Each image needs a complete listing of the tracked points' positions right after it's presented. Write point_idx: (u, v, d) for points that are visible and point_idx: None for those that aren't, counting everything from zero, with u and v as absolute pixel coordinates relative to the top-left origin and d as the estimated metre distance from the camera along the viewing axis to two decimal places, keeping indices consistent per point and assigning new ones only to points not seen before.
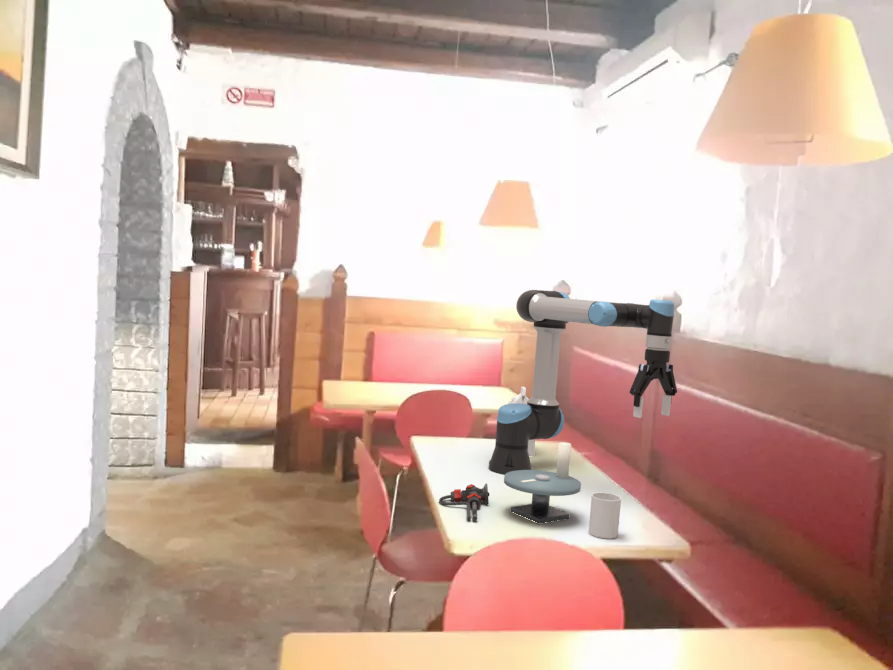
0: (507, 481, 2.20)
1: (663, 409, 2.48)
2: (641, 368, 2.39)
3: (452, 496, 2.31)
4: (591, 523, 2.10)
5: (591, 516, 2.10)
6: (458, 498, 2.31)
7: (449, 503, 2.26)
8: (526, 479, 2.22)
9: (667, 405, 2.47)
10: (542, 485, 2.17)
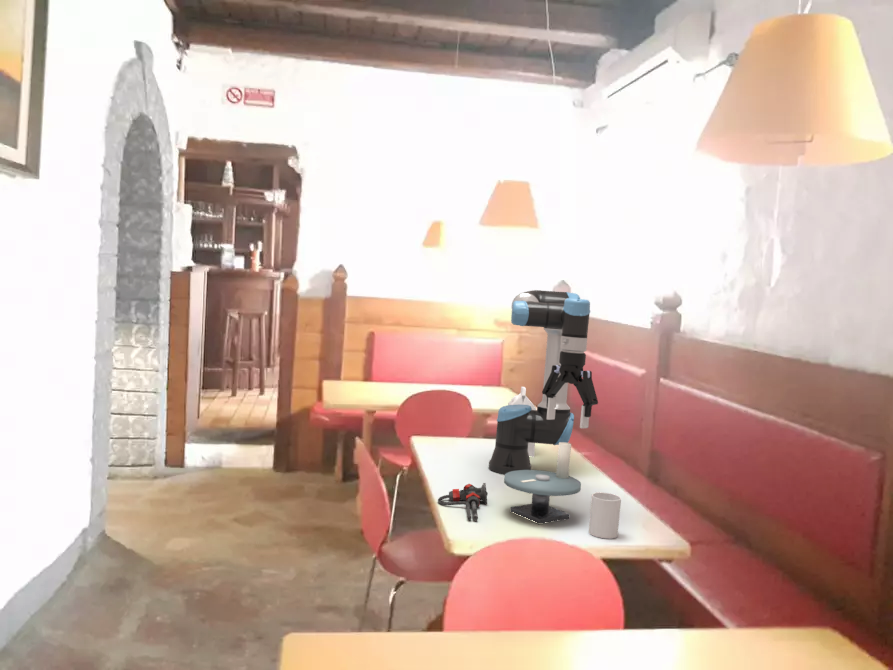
0: (507, 481, 2.20)
1: None
2: None
3: (451, 496, 2.31)
4: (591, 523, 2.10)
5: (591, 516, 2.10)
6: (457, 498, 2.31)
7: (448, 503, 2.26)
8: (526, 479, 2.22)
9: None
10: (542, 485, 2.17)
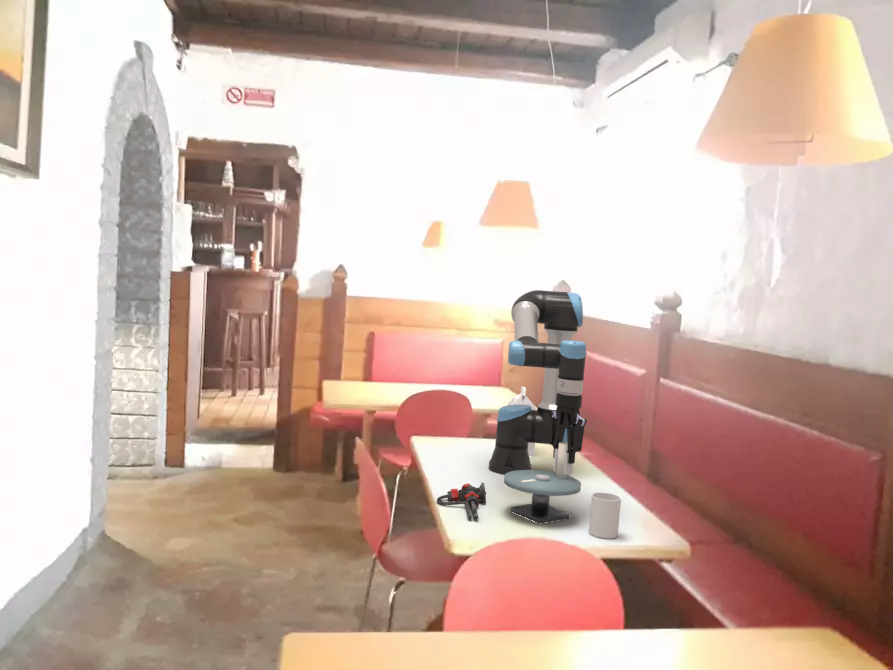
0: (507, 481, 2.20)
1: None
2: None
3: (449, 496, 2.32)
4: (591, 523, 2.10)
5: (591, 516, 2.10)
6: (455, 497, 2.31)
7: (447, 503, 2.26)
8: (526, 479, 2.22)
9: None
10: (542, 485, 2.17)
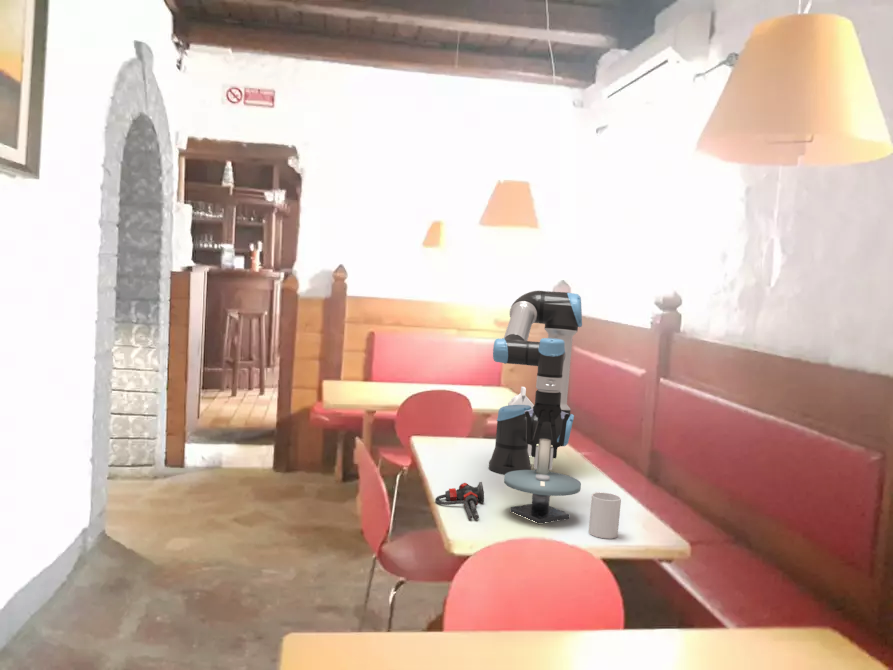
0: (530, 489, 2.14)
1: (549, 462, 2.32)
2: (525, 415, 2.30)
3: (447, 495, 2.32)
4: (591, 523, 2.10)
5: (591, 516, 2.10)
6: (454, 497, 2.31)
7: (446, 502, 2.26)
8: (536, 482, 2.19)
9: None
10: (560, 485, 2.18)
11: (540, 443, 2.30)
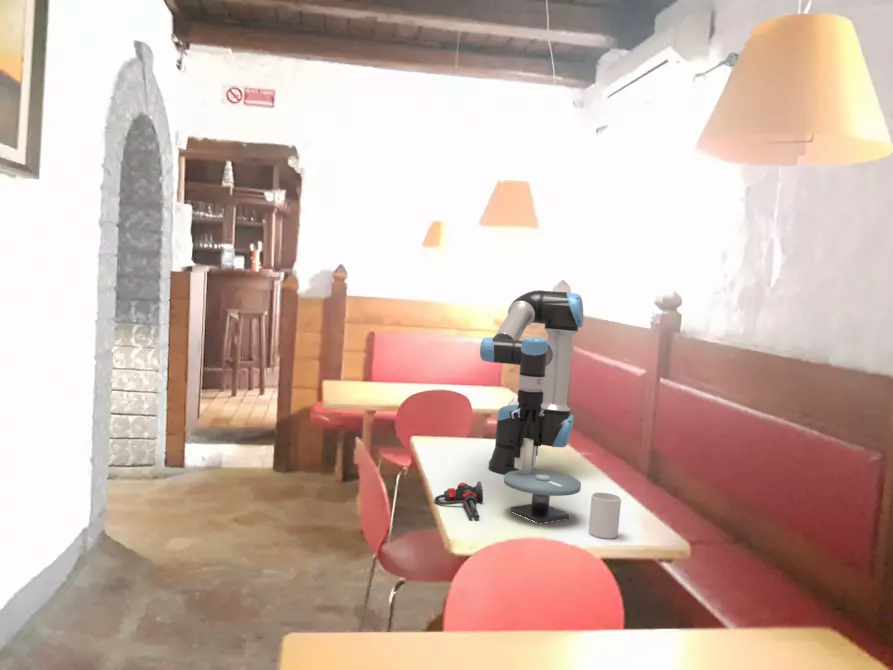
0: (558, 491, 2.13)
1: None
2: (512, 416, 2.25)
3: (446, 495, 2.32)
4: (591, 523, 2.10)
5: (591, 516, 2.10)
6: (453, 497, 2.31)
7: (446, 502, 2.26)
8: (548, 484, 2.19)
9: (532, 456, 2.30)
10: (566, 482, 2.22)
11: (526, 443, 2.28)
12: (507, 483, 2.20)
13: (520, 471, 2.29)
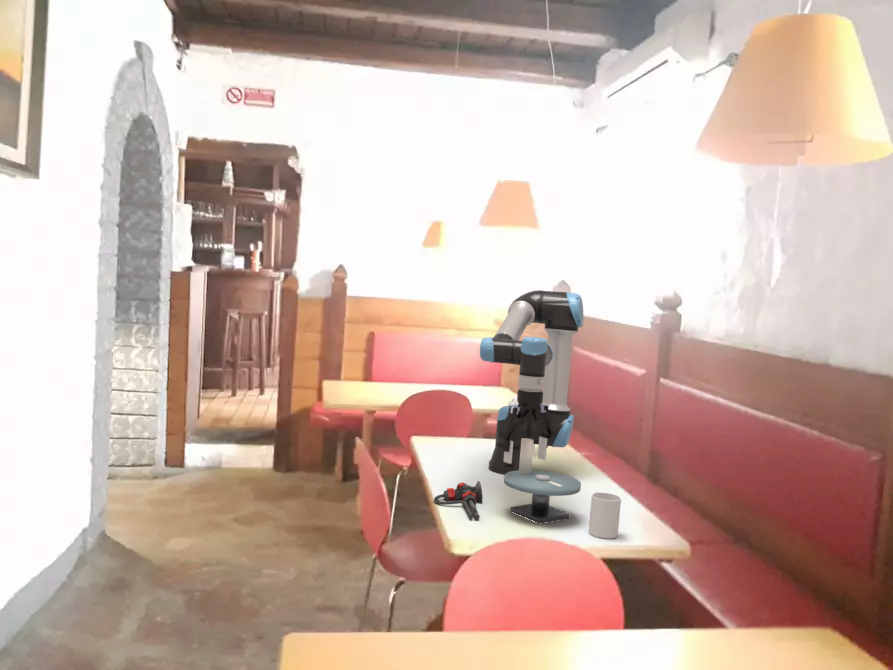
0: (558, 491, 2.13)
1: (539, 452, 2.34)
2: (511, 411, 2.25)
3: (446, 495, 2.32)
4: (591, 523, 2.10)
5: (591, 516, 2.10)
6: (452, 497, 2.32)
7: (445, 502, 2.26)
8: (548, 484, 2.19)
9: (543, 448, 2.33)
10: (566, 482, 2.22)
11: (526, 443, 2.28)
12: (507, 483, 2.20)
13: (520, 471, 2.29)
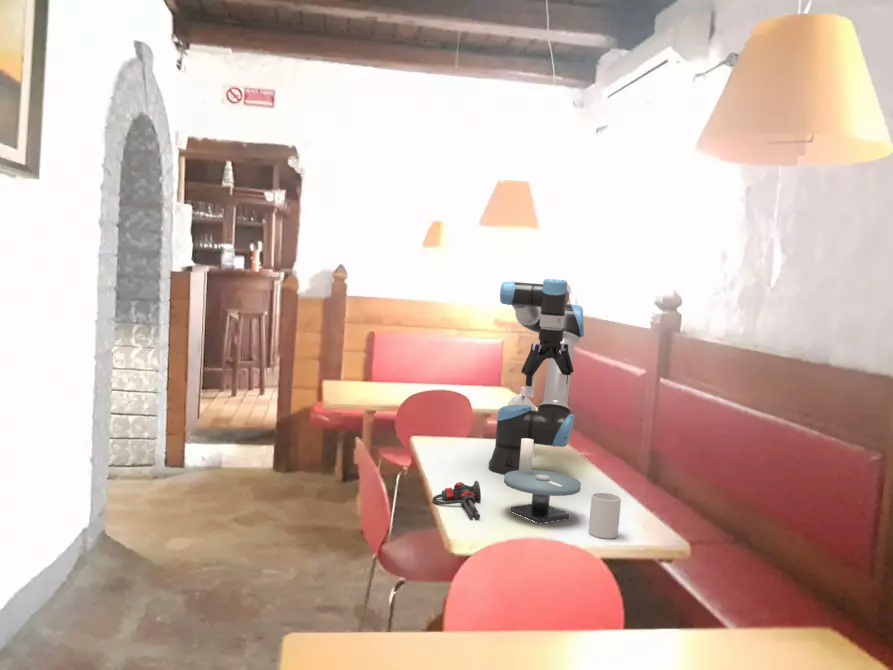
0: (558, 491, 2.13)
1: (559, 388, 2.48)
2: (533, 348, 2.38)
3: (444, 495, 2.32)
4: (591, 523, 2.10)
5: (591, 516, 2.10)
6: (450, 497, 2.32)
7: (445, 502, 2.26)
8: (548, 484, 2.19)
9: (563, 384, 2.47)
10: (566, 482, 2.22)
11: (526, 443, 2.28)
12: (507, 483, 2.20)
13: (520, 471, 2.29)
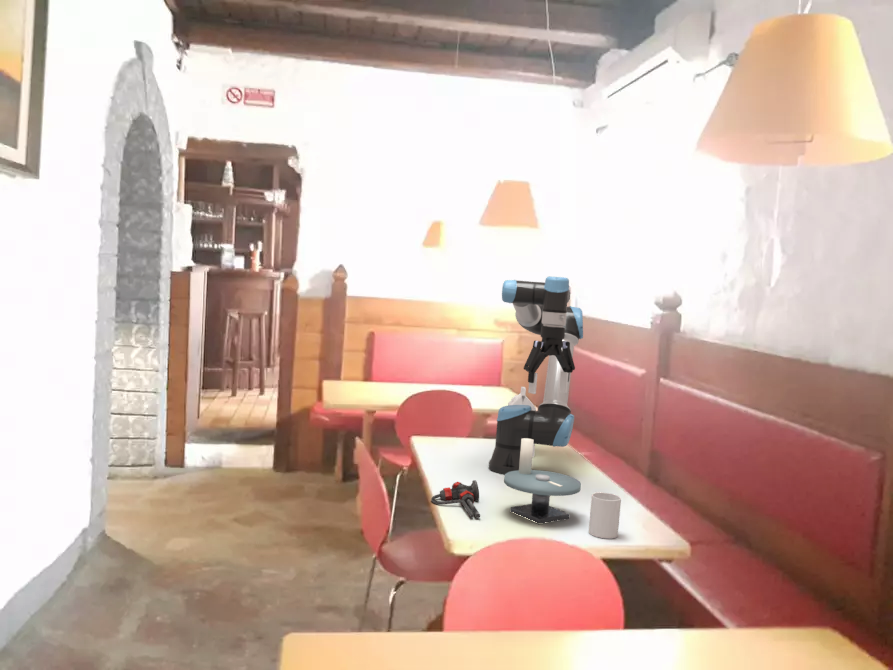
0: (558, 491, 2.13)
1: (561, 386, 2.49)
2: (535, 344, 2.40)
3: (443, 495, 2.32)
4: (591, 523, 2.10)
5: (591, 516, 2.10)
6: (449, 496, 2.32)
7: (444, 502, 2.27)
8: (548, 484, 2.19)
9: (564, 382, 2.48)
10: (566, 482, 2.22)
11: (526, 443, 2.28)
12: (507, 483, 2.20)
13: (520, 471, 2.29)
